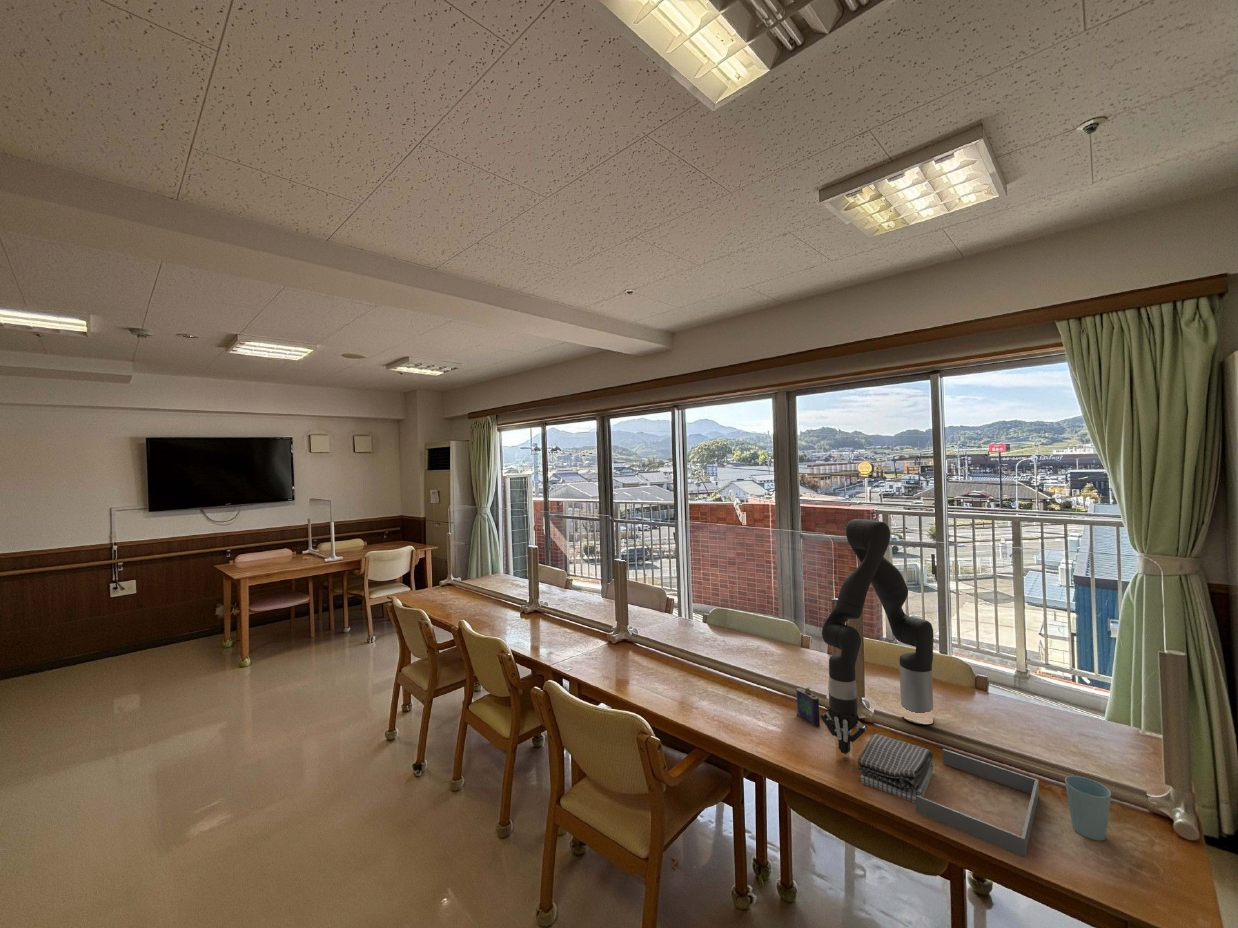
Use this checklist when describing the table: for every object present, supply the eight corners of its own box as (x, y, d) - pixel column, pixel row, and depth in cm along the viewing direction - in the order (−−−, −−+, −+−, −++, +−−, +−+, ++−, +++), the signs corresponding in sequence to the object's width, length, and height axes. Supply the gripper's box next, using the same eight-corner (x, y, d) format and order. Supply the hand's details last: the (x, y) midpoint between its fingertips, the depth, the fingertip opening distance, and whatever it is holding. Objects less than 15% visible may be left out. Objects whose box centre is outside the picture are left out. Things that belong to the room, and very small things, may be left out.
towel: (935, 773, 136) (934, 744, 136) (920, 808, 123) (919, 776, 123) (875, 752, 146) (874, 726, 146) (855, 783, 133) (854, 754, 133)
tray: (943, 762, 140) (943, 748, 140) (1038, 795, 126) (1038, 779, 126) (916, 812, 121) (915, 795, 121) (1025, 857, 106) (1024, 839, 106)
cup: (1070, 814, 119) (1069, 771, 119) (1115, 833, 112) (1114, 787, 112) (1062, 829, 114) (1061, 784, 114) (1108, 849, 108) (1107, 801, 108)
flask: (795, 714, 169) (794, 683, 169) (801, 712, 170) (800, 681, 170) (815, 727, 161) (815, 694, 161) (822, 725, 162) (821, 692, 162)
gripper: (871, 695, 143) (873, 755, 143) (825, 681, 152) (827, 738, 152) (861, 704, 137) (863, 767, 137) (814, 690, 147) (816, 749, 147)
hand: (844, 752), depth 145 cm, fingers closed
